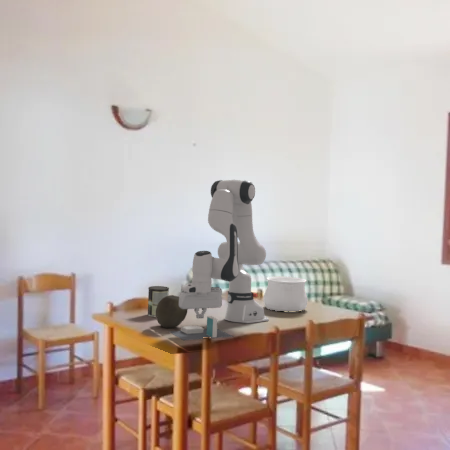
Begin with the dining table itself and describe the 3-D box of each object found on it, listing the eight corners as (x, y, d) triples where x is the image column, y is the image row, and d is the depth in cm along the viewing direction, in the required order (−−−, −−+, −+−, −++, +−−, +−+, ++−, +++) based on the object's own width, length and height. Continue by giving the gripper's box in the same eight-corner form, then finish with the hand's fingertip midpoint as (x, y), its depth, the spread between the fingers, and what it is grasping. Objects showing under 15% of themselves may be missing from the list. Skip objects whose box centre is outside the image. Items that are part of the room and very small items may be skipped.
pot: (305, 315, 338) (307, 283, 337) (260, 311, 343) (261, 280, 342) (308, 306, 363) (309, 277, 363) (265, 303, 368) (267, 274, 367)
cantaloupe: (165, 332, 282) (166, 299, 281) (149, 326, 294) (151, 294, 293) (192, 329, 290) (193, 297, 290) (175, 323, 302) (177, 292, 301)
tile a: (197, 325, 287) (181, 326, 283) (203, 328, 282) (187, 329, 278) (197, 330, 287) (181, 331, 284) (203, 332, 282) (186, 334, 278)
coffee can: (143, 315, 318) (144, 287, 317) (155, 312, 327) (156, 285, 326) (159, 318, 313) (160, 289, 312) (172, 315, 322) (173, 287, 321)
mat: (216, 329, 293) (216, 328, 293) (233, 337, 278) (233, 336, 278) (168, 332, 282) (168, 331, 282) (183, 341, 267) (183, 340, 267)
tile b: (210, 334, 280) (211, 316, 280) (216, 337, 275) (217, 318, 275) (206, 334, 279) (207, 316, 279) (212, 337, 274) (213, 319, 274)
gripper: (218, 285, 291) (217, 315, 292) (177, 287, 281) (176, 317, 282) (225, 287, 285) (223, 318, 286) (183, 289, 276) (182, 320, 276)
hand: (200, 318), depth 284 cm, fingers closed
